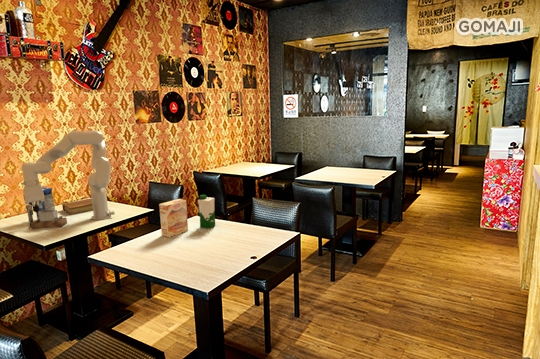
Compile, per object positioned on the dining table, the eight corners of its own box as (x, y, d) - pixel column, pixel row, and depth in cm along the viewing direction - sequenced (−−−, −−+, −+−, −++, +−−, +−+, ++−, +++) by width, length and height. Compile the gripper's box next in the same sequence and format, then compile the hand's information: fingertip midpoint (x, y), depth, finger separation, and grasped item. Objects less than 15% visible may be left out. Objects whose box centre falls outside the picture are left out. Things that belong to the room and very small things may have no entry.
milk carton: (204, 223, 245) (203, 193, 241) (217, 224, 242) (215, 194, 238) (198, 228, 237) (196, 196, 233) (211, 229, 234) (209, 197, 230)
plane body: (67, 223, 253) (66, 215, 252) (61, 227, 245) (60, 219, 243) (38, 224, 252) (37, 217, 250) (31, 229, 243) (30, 221, 242)
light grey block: (58, 218, 250) (56, 208, 249) (54, 221, 245) (53, 211, 244) (43, 219, 249) (42, 209, 248) (39, 221, 244) (38, 211, 243)
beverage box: (46, 222, 257) (41, 190, 253) (37, 220, 262) (32, 188, 258) (56, 219, 263) (51, 188, 259) (46, 217, 268) (42, 186, 264)
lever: (34, 214, 235) (33, 209, 234) (28, 215, 233) (27, 210, 232) (32, 209, 247) (31, 204, 246) (26, 210, 245) (25, 205, 244)
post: (36, 226, 249) (33, 209, 247) (33, 227, 245) (31, 211, 243) (30, 226, 249) (28, 210, 246) (27, 228, 245) (25, 211, 243)
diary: (94, 204, 301) (93, 197, 300) (103, 209, 288) (103, 201, 287) (63, 210, 286) (62, 203, 284) (71, 215, 272) (70, 207, 271)
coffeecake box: (168, 237, 221) (166, 205, 217) (161, 235, 225) (158, 203, 221) (188, 230, 233) (186, 199, 229) (181, 228, 237) (178, 198, 233)
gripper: (19, 186, 225) (24, 215, 229) (47, 181, 236) (51, 210, 239) (15, 184, 230) (20, 213, 234) (43, 180, 241) (47, 208, 244)
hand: (36, 211), depth 237 cm, fingers closed
